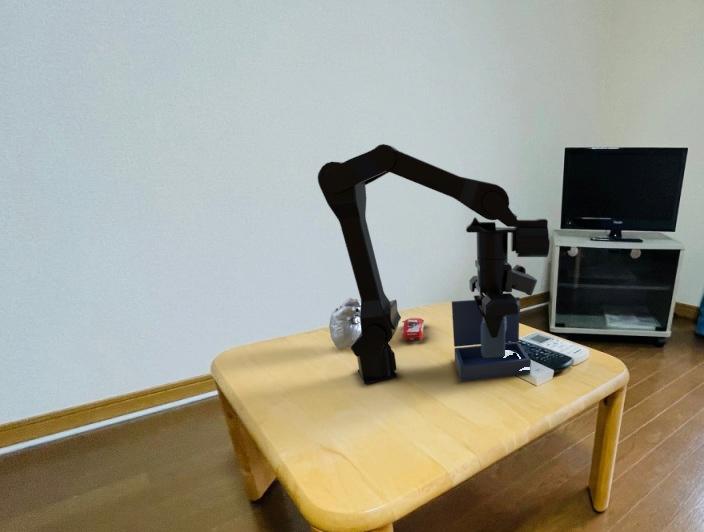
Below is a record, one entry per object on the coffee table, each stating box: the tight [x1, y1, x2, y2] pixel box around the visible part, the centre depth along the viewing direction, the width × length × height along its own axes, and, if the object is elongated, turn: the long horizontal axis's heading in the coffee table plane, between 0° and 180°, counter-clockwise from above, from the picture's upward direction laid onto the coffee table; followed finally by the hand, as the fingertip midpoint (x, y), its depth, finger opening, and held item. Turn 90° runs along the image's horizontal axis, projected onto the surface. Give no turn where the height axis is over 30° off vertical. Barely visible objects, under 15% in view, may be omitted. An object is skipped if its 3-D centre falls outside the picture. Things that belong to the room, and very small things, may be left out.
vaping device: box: [480, 315, 507, 358], centre depth 79 cm, size 3×5×12 cm, turn 102°
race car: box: [401, 317, 425, 342], centre depth 101 cm, size 13×5×4 cm, turn 9°
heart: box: [328, 297, 361, 351], centre depth 92 cm, size 10×10×12 cm
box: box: [453, 341, 532, 383], centre depth 84 cm, size 10×15×3 cm, turn 105°
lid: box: [451, 296, 521, 348], centre depth 87 cm, size 10×15×5 cm
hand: (492, 334), depth 79 cm, fingers closed on vaping device, 2 cm apart
